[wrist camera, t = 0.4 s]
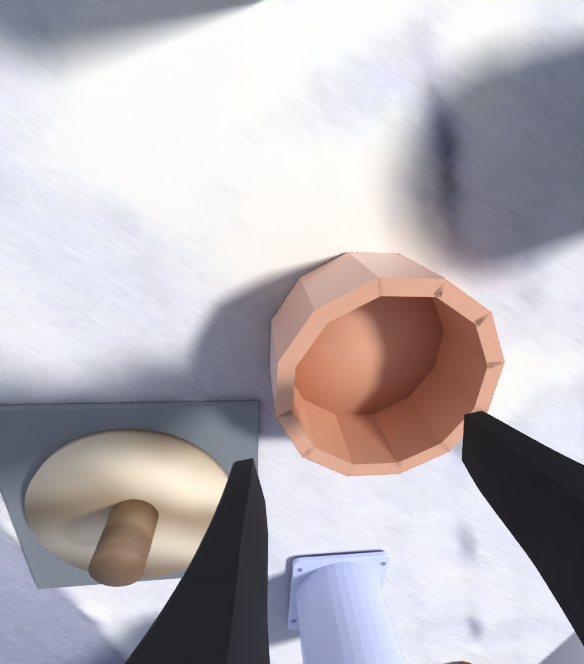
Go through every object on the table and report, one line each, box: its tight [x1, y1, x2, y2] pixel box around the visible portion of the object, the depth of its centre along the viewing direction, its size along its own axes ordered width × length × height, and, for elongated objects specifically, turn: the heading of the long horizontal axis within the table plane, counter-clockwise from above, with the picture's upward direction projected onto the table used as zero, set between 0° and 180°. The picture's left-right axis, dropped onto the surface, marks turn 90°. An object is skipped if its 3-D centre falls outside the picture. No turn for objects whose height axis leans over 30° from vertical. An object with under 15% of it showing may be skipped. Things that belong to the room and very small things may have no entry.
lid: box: [25, 429, 229, 587], centre depth 22 cm, size 13×13×4 cm
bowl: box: [270, 252, 504, 476], centre depth 19 cm, size 11×11×5 cm
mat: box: [0, 401, 259, 589], centre depth 24 cm, size 16×16×1 cm
